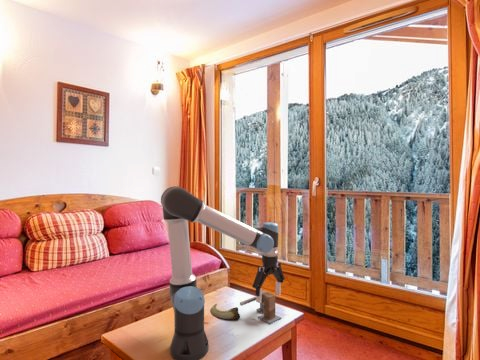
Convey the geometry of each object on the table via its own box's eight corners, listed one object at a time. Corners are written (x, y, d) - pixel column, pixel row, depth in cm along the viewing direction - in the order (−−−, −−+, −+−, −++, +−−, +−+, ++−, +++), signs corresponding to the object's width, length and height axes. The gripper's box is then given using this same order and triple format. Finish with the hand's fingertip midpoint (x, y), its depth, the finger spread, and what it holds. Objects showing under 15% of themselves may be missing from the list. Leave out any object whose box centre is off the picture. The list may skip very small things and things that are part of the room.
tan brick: (275, 317, 144) (275, 295, 144) (269, 319, 141) (269, 297, 141) (263, 311, 150) (264, 290, 150) (258, 313, 147) (258, 292, 147)
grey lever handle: (244, 322, 140) (244, 301, 140) (237, 318, 144) (237, 297, 143) (270, 310, 152) (270, 291, 152) (263, 307, 156) (263, 288, 155)
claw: (246, 315, 147) (246, 309, 147) (233, 324, 139) (233, 317, 139) (215, 306, 159) (215, 299, 159) (202, 313, 150) (202, 307, 150)
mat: (270, 324, 138) (270, 323, 138) (257, 317, 144) (257, 316, 144) (281, 318, 144) (281, 317, 144) (269, 312, 150) (269, 311, 150)
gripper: (257, 261, 132) (255, 308, 133) (292, 252, 149) (291, 294, 149) (245, 257, 138) (244, 302, 138) (280, 249, 154) (279, 289, 155)
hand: (268, 298), depth 144 cm, fingers open, 13 cm apart
